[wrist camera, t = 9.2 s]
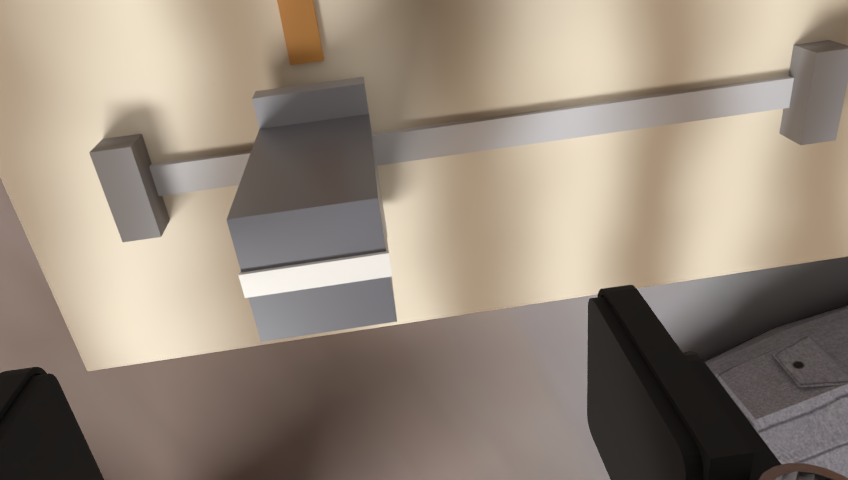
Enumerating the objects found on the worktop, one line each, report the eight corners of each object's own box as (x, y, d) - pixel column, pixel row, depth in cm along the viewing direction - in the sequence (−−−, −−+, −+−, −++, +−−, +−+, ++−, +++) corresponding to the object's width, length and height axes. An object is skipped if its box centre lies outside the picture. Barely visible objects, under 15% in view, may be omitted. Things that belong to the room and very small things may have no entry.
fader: (365, 76, 19) (374, 159, 13) (387, 225, 22) (404, 353, 16) (253, 91, 19) (211, 182, 13) (288, 240, 22) (266, 375, 16)
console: (901, -165, 21) (1018, -177, 18) (823, 218, 28) (895, 268, 24) (-40, -49, 20) (-126, -36, 16) (113, 323, 27) (75, 393, 23)
